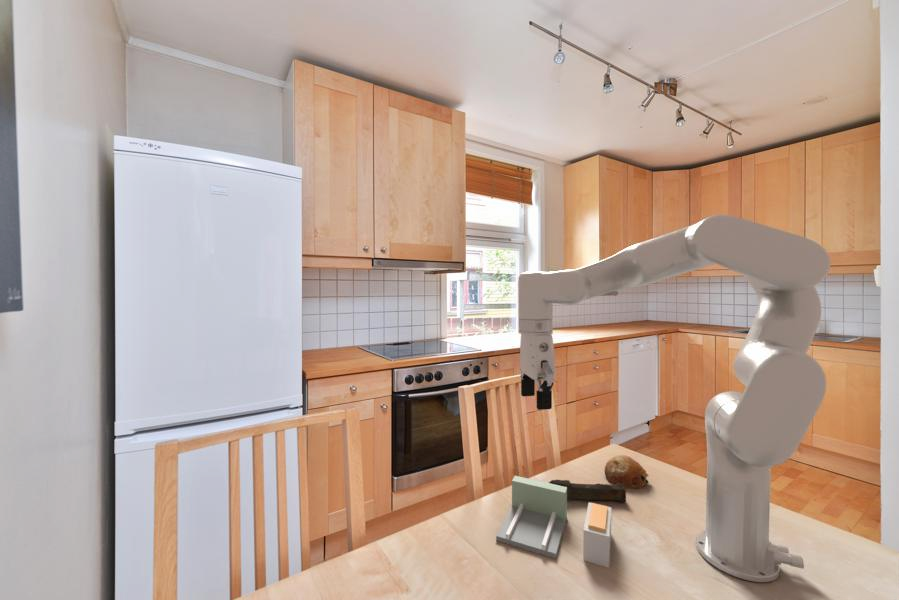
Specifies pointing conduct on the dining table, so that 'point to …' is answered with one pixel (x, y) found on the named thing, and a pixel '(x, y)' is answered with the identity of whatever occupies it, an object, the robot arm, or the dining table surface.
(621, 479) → the bread roll
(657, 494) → the dining table surface
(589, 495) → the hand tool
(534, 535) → the chute mount
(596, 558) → the holder
